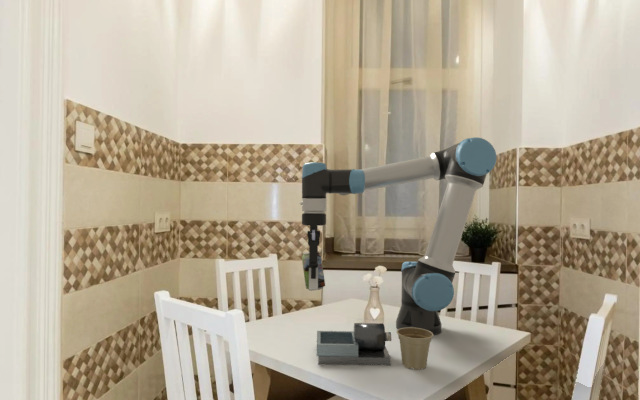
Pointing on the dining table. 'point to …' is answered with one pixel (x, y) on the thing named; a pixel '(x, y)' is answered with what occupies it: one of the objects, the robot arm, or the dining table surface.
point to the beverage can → (306, 271)
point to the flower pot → (414, 346)
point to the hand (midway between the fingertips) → (313, 286)
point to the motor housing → (354, 346)
